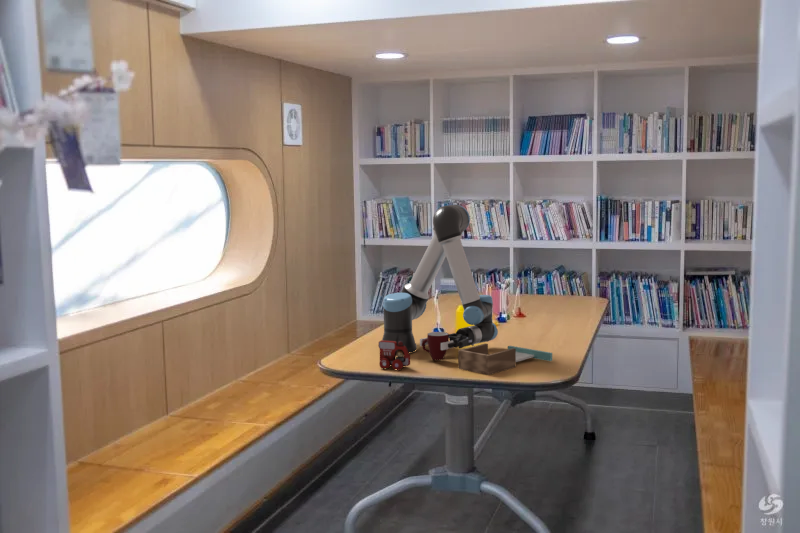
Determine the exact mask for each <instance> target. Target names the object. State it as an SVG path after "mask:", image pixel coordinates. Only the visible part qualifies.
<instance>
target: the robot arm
mask: <svg viewBox="0 0 800 533" xmlns="http://www.w3.org/2000/svg"><path fill="white" fill-rule="evenodd" d="M470 223H471V216H470V213H469V211H468V210H467V209H466V208H465V207H464V206H462V205H459V204H455V203H454V204H450V205H443V206H441V207H439V208H438V209H436V210H435V212H434V214H433V217H432V224H433V228H432V231H433V236H432V238H431V240H430V242H429V244H428V246H427V248H426V250H425V252H424V254H423V256H422V258H421V260H420V262H419V264H418V266H417V267H416V270H415V271H414V274H413V276H412V278H411V280H410V282H409V283H406V284H404V286H403V288H402V289H401V291H400V292H393V293H389V294H387V295H385V296H384V298H383V304H382V307H383V335H382V339H381V340H383V341H395V342H397V343H398V342H399V341H402V342H403V346H406V348H407V350H408V352H413V351H415V350H416V349H418V346H417V343H416V339H415V337H414V334H413V321H414V320H417V319H418V318H420V317H421V316H422V315H423V314H424V313H425V311H426V308H427V302H428V300H429V299H430V295H429V290H430V289H431V286H432V285H433V283H434V281H435V279H436V277H437V275H438V274H439V270H441V267H442V266H443V264H444V261H445V259H446V260H447V263H448V265H449V270H450V272H451V275H452V278H453V281H454V284H455V286H456V290H457V292H458V296H459V299H460V301H461V304H462V308H463V313H462V317H463V320H464V322H465V323H466V324H468V325H470V326H465V327H460V328H459V329H457V330H456V332H453V333H448V342H443V343H441V350H446V349H447V350H448V349H453V348H457V349H458V348H459V349H463V348H467V347H473V346H475V345H479V344H483V343H486V342H490V341H493V340H495V339H496V338H497V337H498V332H499V330H498V328H497V325H496V324H495V323H493V309H494V308H493V306H494V303H493V297H492V295H489V294H479V291H478V287H477V285H476V282H475V279H474V276H473V272H472V270H471V268H470V264H469V260H468V258H467V255H466V252H465V249H464V247H463V243H462V240H461V239H462V236H463V235H462V234H463V232H464V231H466V230H467V228H469V226H470ZM425 339H427V337H423V338H419V347H422V343H423V341H424V340H425ZM425 346H428V342H426V343H425ZM398 350H400V349H398ZM398 350H397V351H398ZM397 351H396V352H397ZM413 353H414V352H413Z"/></svg>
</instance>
